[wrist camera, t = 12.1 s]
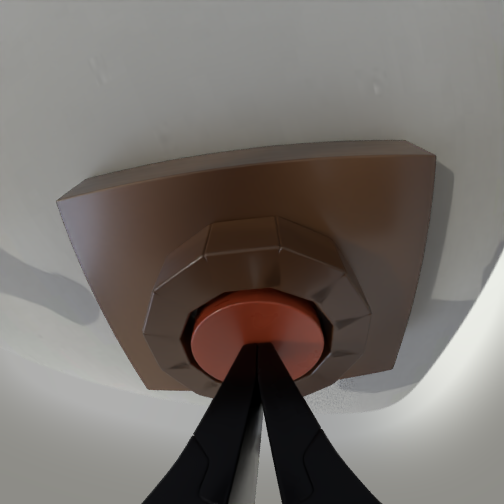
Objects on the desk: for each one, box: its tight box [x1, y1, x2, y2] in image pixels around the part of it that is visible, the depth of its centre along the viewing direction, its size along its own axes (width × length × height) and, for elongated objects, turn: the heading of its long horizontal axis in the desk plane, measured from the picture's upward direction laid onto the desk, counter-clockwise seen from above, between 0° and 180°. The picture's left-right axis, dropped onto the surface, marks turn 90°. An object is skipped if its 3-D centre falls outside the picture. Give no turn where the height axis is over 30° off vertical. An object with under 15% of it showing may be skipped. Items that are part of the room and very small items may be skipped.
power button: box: [191, 288, 324, 381], centre depth 9 cm, size 4×4×2 cm
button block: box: [56, 140, 436, 398], centre depth 11 cm, size 12×10×4 cm
